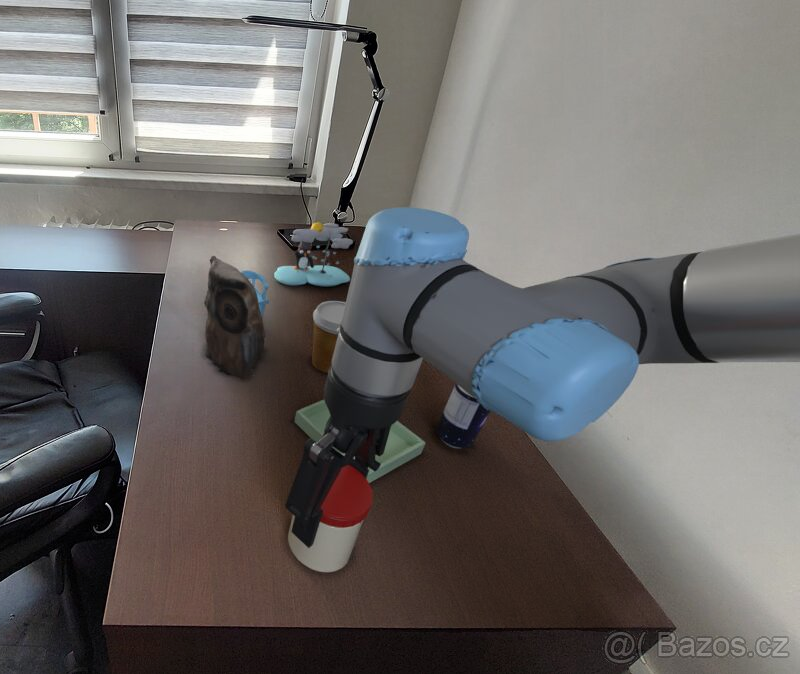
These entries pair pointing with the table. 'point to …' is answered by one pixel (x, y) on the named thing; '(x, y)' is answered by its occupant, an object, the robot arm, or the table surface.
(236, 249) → the table surface
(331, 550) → the jar
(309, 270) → the penguin figurine
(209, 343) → the owl
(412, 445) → the tray
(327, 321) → the disposable coffee cup
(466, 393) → the beverage can
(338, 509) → the jar lid
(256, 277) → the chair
